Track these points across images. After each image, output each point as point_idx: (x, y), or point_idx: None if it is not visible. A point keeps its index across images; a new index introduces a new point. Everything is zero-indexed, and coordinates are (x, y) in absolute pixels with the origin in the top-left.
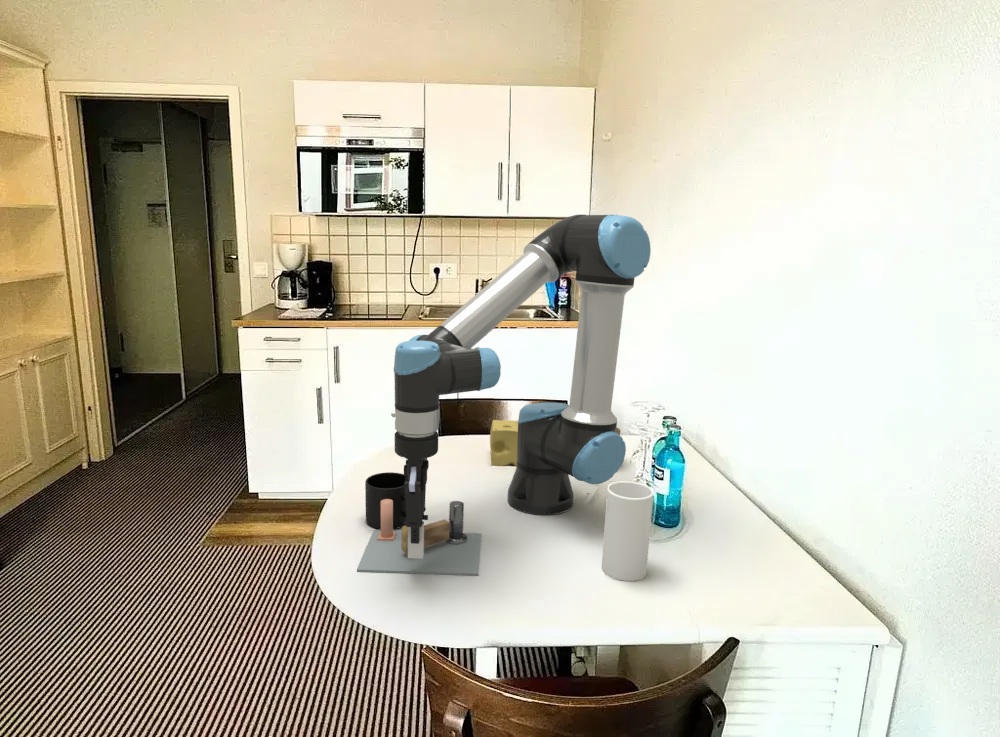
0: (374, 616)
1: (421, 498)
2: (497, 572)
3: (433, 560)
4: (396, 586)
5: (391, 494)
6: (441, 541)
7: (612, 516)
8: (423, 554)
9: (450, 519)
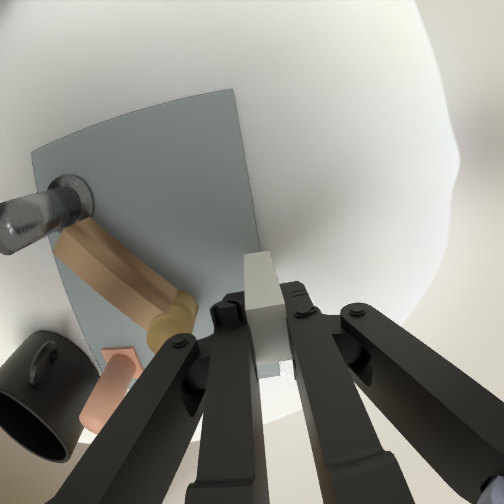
0: (427, 282)
1: (363, 410)
2: (203, 49)
3: (190, 228)
4: (326, 280)
5: (54, 415)
6: (108, 233)
7: None
8: (253, 254)
9: (47, 232)
